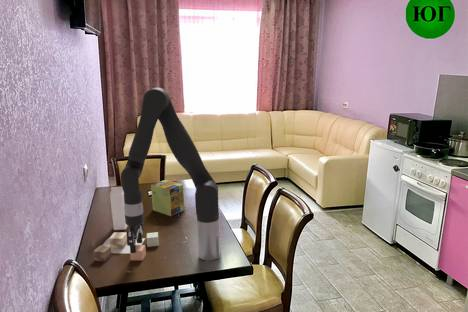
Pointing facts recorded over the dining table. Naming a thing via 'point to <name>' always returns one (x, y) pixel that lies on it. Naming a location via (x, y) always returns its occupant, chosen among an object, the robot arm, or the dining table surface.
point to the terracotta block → (139, 253)
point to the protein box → (167, 197)
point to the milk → (118, 208)
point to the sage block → (152, 239)
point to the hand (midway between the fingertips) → (136, 247)
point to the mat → (125, 250)
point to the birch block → (118, 240)
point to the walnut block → (102, 253)
